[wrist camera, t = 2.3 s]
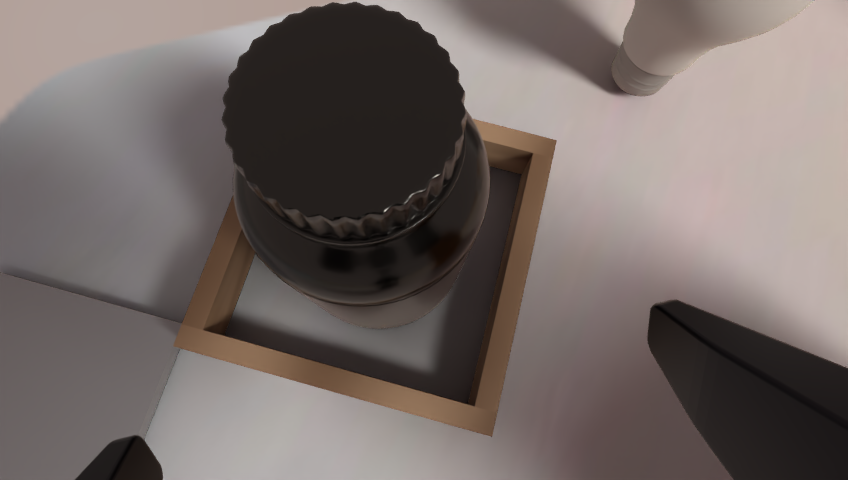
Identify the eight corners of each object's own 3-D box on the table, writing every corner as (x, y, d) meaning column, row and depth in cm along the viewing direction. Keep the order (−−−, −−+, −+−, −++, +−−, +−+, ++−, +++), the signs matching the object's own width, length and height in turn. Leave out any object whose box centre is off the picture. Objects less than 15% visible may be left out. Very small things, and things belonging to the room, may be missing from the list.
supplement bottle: (296, 181, 22) (172, -39, 10) (452, 169, 22) (498, -56, 11) (301, 340, 20) (157, 288, 9) (470, 325, 21) (549, 255, 9)
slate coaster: (188, 325, 20) (182, 323, 20) (103, 542, 18) (93, 548, 18) (3, 272, 21) (-9, 269, 20) (-103, 480, 18) (-119, 483, 18)
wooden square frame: (542, 163, 23) (556, 140, 20) (482, 430, 19) (491, 436, 17) (294, 98, 23) (282, 70, 21) (197, 349, 20) (172, 346, 18)
